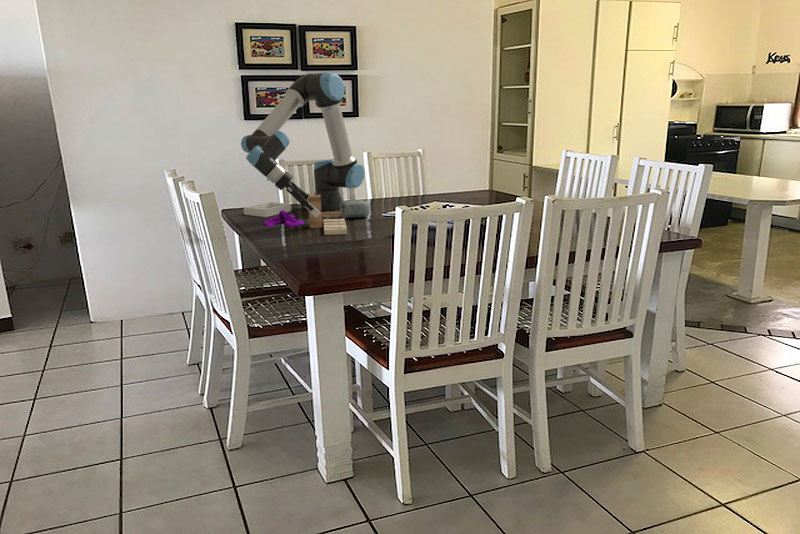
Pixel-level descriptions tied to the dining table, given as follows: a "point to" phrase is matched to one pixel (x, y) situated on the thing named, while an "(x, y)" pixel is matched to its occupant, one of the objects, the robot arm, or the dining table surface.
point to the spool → (354, 209)
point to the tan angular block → (316, 202)
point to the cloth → (283, 220)
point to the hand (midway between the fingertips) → (318, 212)
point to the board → (334, 226)
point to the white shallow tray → (266, 209)
